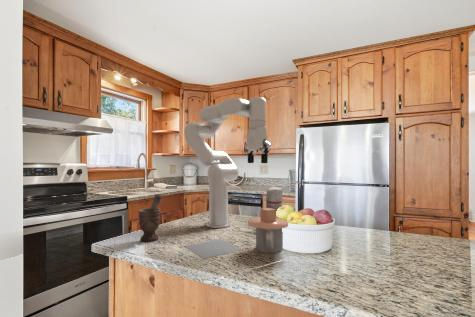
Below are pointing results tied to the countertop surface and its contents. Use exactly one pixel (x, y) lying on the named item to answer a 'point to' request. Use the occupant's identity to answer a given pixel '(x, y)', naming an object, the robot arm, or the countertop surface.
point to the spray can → (274, 198)
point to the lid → (267, 220)
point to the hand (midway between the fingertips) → (257, 163)
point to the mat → (212, 248)
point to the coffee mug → (269, 240)
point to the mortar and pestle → (150, 220)
